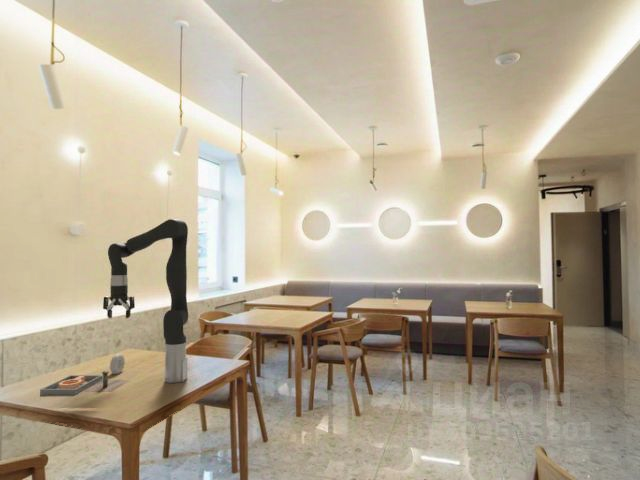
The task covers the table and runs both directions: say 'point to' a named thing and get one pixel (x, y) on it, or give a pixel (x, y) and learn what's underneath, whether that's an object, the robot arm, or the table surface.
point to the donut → (117, 364)
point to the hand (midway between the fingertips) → (118, 317)
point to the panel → (106, 384)
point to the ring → (72, 383)
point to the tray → (54, 391)
